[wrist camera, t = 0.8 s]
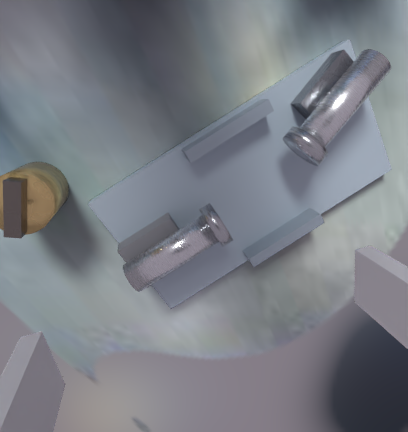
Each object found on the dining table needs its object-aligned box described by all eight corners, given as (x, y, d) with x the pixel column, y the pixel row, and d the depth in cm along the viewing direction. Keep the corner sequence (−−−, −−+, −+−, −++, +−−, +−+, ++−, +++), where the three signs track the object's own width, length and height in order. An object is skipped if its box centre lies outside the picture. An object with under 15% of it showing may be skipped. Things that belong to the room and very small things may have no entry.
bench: (90, 200, 31) (84, 211, 28) (340, 42, 31) (365, 33, 28) (169, 301, 37) (172, 321, 33) (382, 167, 37) (407, 172, 33)
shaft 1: (120, 252, 30) (117, 272, 27) (205, 198, 30) (215, 210, 27) (144, 282, 32) (145, 305, 28) (225, 230, 32) (237, 247, 28)
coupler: (12, 209, 30) (-25, 238, 23) (11, 158, 29) (-28, 173, 22) (67, 214, 31) (47, 243, 24) (69, 165, 30) (49, 181, 23)
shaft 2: (267, 131, 31) (293, 135, 26) (334, 48, 30) (376, 35, 25) (299, 162, 33) (330, 171, 28) (364, 85, 32) (409, 79, 26)
